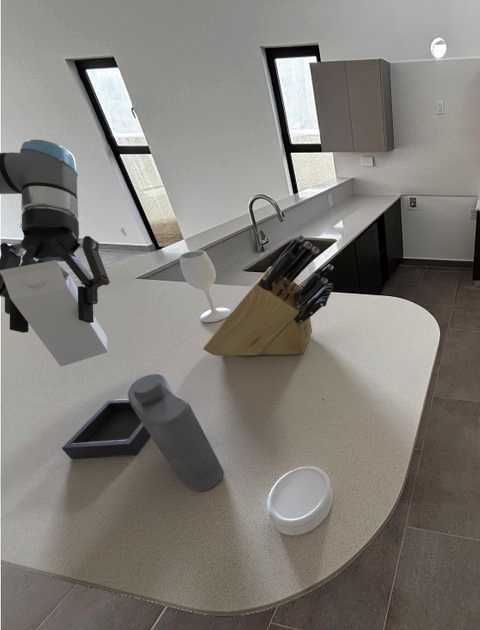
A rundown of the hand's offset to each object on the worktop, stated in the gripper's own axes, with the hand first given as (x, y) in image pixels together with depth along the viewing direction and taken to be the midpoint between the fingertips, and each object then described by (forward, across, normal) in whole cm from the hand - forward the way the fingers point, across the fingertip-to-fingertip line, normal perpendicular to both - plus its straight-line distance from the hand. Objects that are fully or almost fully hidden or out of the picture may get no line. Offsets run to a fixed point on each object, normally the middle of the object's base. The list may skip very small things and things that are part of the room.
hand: (53, 325), depth 61 cm
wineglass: (-10, -15, -43) cm, 47 cm away
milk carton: (+4, 0, -8) cm, 9 cm away
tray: (+21, -4, -11) cm, 24 cm away
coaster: (+41, -38, +9) cm, 57 cm away
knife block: (+6, -34, -26) cm, 44 cm away
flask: (+31, -19, -2) cm, 36 cm away
